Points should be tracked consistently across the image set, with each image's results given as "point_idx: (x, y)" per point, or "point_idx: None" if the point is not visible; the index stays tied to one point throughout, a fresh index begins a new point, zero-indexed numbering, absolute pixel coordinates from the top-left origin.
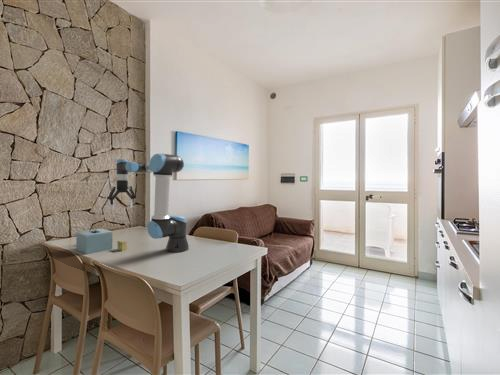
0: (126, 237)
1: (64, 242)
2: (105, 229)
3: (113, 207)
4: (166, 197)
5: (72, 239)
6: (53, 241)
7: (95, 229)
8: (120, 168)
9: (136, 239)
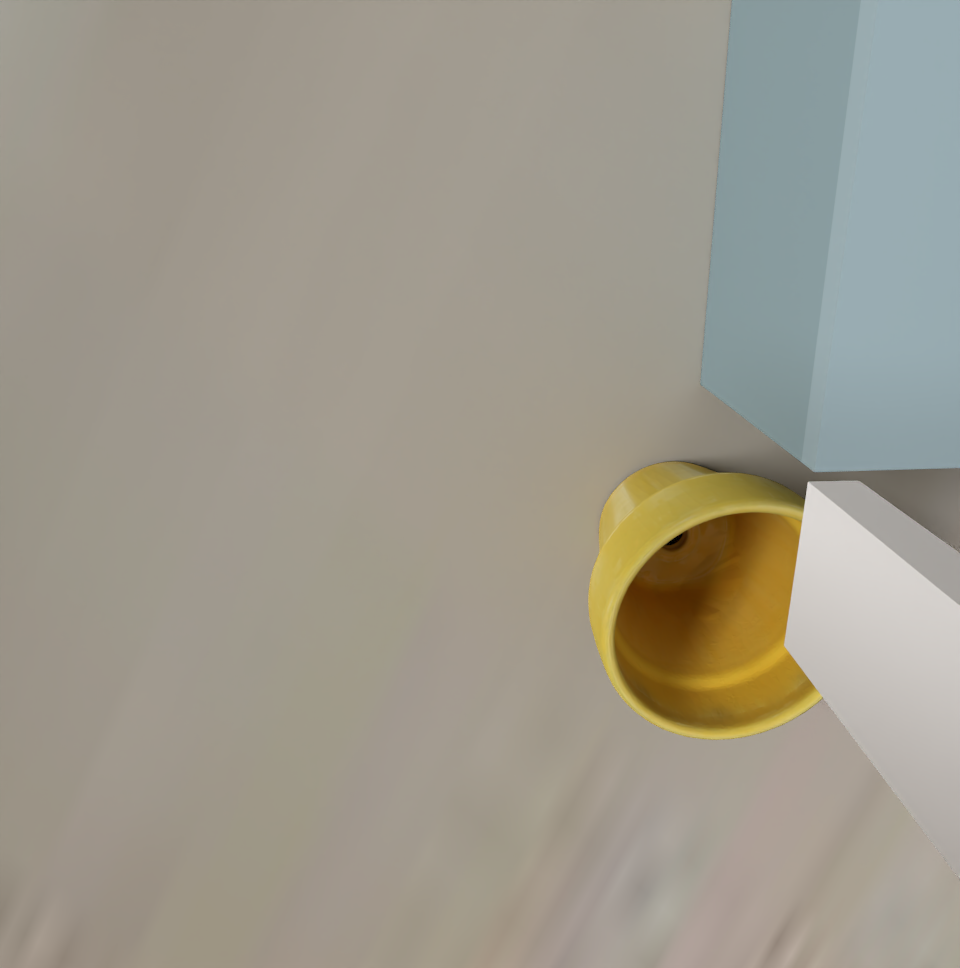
0: (207, 579)
1: (902, 841)
2: (618, 611)
3: (904, 515)
4: None
5: (769, 925)
6: (942, 956)
7: (950, 447)
8: None
9: (133, 324)
